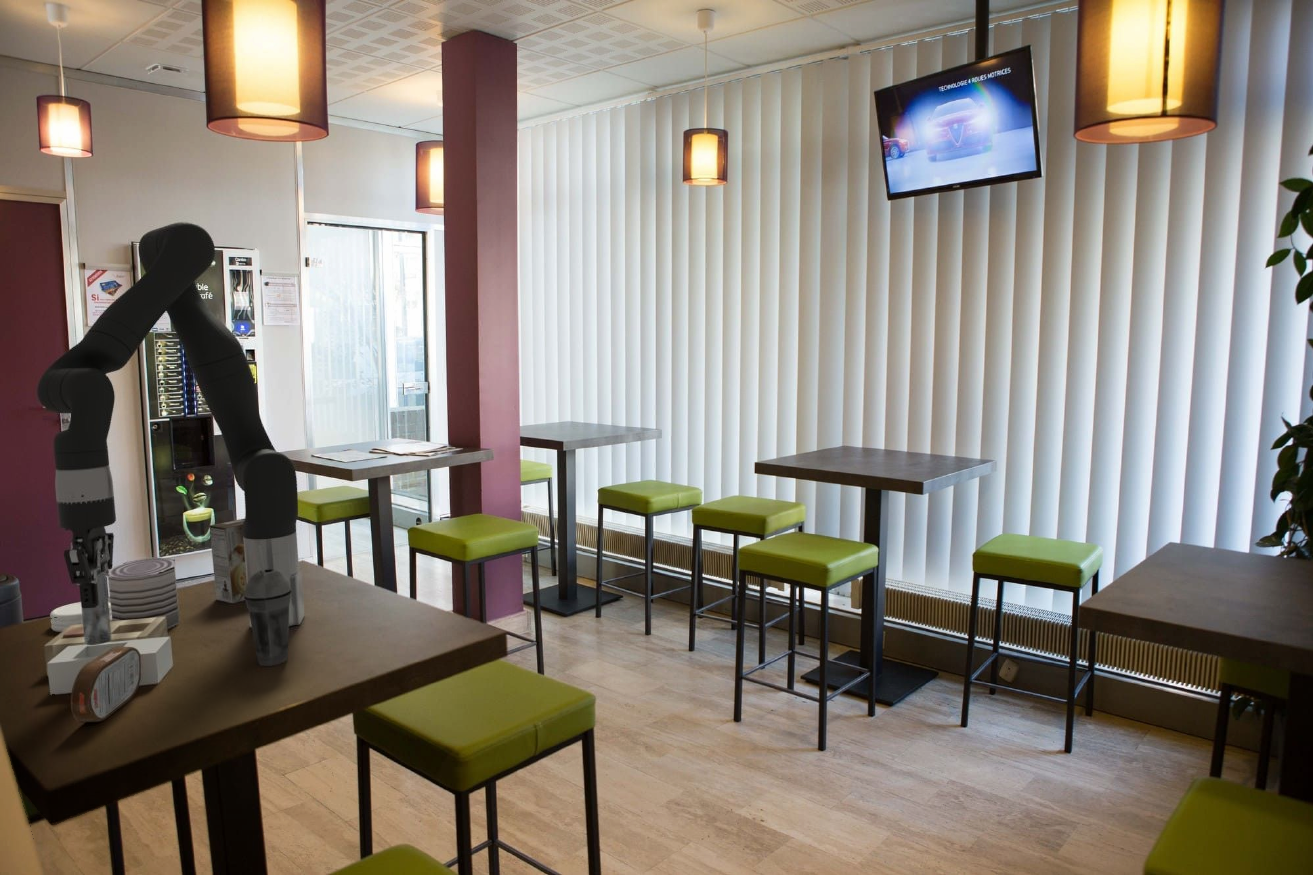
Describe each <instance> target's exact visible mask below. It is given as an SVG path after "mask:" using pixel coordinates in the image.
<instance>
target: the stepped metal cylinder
mask: <svg viewBox="0 0 1313 875" xmlns="http://www.w3.org/2000/svg"><path fill="white" fill-rule="evenodd" d="M93 562H94V561H93ZM93 562H88V564H92V563H93ZM90 571H91V570H90ZM83 575H84V572H83ZM96 583H97V589H98V600H99V605H98V606H97V607H95V608H82V607H81V608H82V619H83V630H84V640H85V644H86V645H98V644H103V643H106V642H109V641H110V640H111V639H112V638H111V627H110V622H111V621H110V616H109V605H108V602H109V593H108V594H107V585H108V582H107V583H106V572H105V571H101V566H100V567H99V568H98V569H97V582H96Z"/></svg>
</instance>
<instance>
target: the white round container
mask: <svg viewBox="0 0 1313 875" xmlns="http://www.w3.org/2000/svg"><path fill="white" fill-rule="evenodd" d="M108 605H109V616H110V622H111V621H112V612H111V602H110V601H108ZM49 617H50V623H51V626H50V628H51V629H52V630H53V631H54V632H57V633H61V632H63V631H64V630H65V629H67V628H68V627H69V626H71V625H78V624H83V619H82V608H81V601H79V602H73V603H70V604H69V603H68V604H66V605H62V606H59V607H57V608H54V609H53V610H52V611H51V612H50V615H49ZM54 617H57V618H54ZM51 618H52V619H51Z"/></svg>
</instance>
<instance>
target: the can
mask: <svg viewBox="0 0 1313 875" xmlns="http://www.w3.org/2000/svg"><path fill="white" fill-rule="evenodd" d="M107 581H108V592H109V599H110V601H109V603H111V612H112V620H111V621H122V620H133V619H144V618H155V617H166V621H167V630H170V629H172V628H174V627H176V626H179V624H180V611H179V610H180V609H179V597H178V587H177V576H176V560H175V558H165V557H157V556H156V557H150V558H149V557H148V558H143V559H136V560H130V561H126V562H124V563H121V564H119V565H116V566H112V569H109V574H108V576H107ZM175 625H176V626H175ZM171 627H172V628H171Z"/></svg>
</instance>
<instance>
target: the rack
mask: <svg viewBox="0 0 1313 875" xmlns="http://www.w3.org/2000/svg"><path fill="white" fill-rule="evenodd" d="M171 637H172V636H168V637H159V638H149V639H139V640H128V641H118V642H107V643H103V644H98V645H76V646H68V647H67V648H65V649H64V650H63V651H62V652H61V653H59V654H58V655H57V656H56V657H54V658H53V659H52V660H51V661H50V662H48V663H47V667H48V685H49V693H50V695H49V696H52V694H55V695H61V694H63V695H64V694H71V693H72V688H73V684H74V681H75V679H76V677H77V675H78V673H79V671H80V670H81V668H82V667H83V666H84V665H85V664H87V663H88V662H90V661H92V660H93V659H95V658H96V657H98V656H100V655H101V654H103V653H104V652H106V651H108V650H109V649H111V648H112V647H114V646H120V647H134V648H136V649H137V650H138V651H139V653H140V655H141V679H140V684H139V686H146V685H148V686H149V685H156V684H159V683H161V681H162V680H163V678H164V677H165V676H166V675H167V673H168V672H169V671H170V670H171V669H172V668H173V667H174V662H173V652H172V651H173V649H172V640H171Z"/></svg>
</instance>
